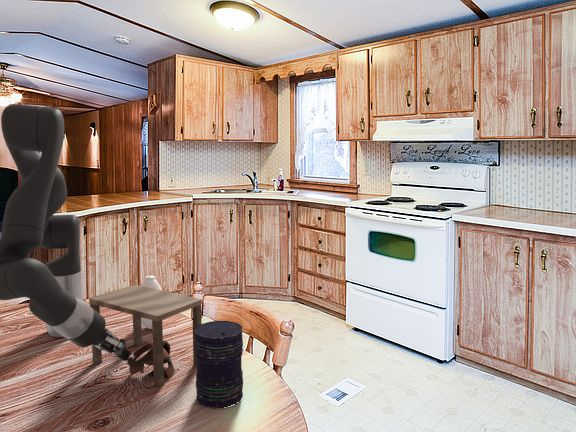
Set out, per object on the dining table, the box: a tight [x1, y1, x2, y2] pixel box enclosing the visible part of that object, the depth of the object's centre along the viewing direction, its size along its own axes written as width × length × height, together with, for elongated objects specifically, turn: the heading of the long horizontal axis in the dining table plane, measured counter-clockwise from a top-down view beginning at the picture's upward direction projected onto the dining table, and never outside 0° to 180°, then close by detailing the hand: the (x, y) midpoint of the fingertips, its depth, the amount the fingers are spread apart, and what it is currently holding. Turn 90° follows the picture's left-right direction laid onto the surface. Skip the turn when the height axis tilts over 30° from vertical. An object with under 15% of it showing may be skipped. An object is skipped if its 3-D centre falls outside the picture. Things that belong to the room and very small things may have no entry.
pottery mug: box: [126, 339, 176, 379], centre depth 114 cm, size 12×10×8 cm
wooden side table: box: [88, 284, 203, 388], centre depth 117 cm, size 23×14×16 cm, turn 58°
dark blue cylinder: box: [195, 320, 244, 410], centre depth 102 cm, size 10×10×15 cm
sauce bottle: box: [140, 267, 163, 330], centre depth 140 cm, size 8×8×18 cm
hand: (127, 356), depth 113 cm, fingers closed
